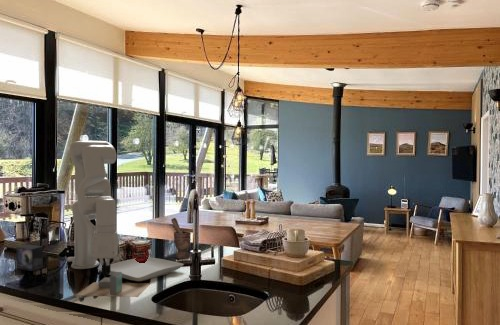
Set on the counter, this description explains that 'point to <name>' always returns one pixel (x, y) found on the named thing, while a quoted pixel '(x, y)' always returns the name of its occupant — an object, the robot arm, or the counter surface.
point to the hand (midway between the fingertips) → (106, 274)
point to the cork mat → (126, 291)
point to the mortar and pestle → (181, 241)
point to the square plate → (144, 268)
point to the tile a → (104, 283)
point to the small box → (29, 257)
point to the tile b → (115, 283)
